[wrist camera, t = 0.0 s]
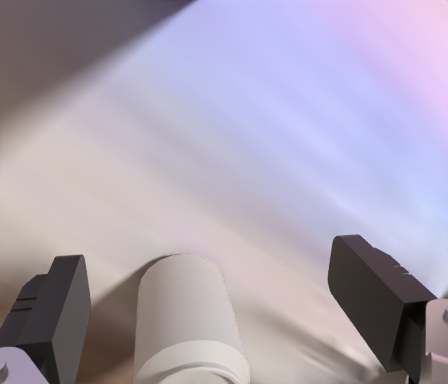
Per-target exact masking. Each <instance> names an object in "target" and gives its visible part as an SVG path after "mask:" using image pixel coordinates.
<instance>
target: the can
mask: <svg viewBox="0 0 448 384" xmlns="http://www.w3.org/2000/svg"><path fill="white" fill-rule="evenodd" d="M249 382H250V368H249V364H248V361H247V357H246V354H245V350H244V347H243V343H242V340H241V336H240V333H239V329H238V326H237V322H236V319H235V315H234V312H233V308H232V305H231V301H230V298H229V294H228V291H227V287H226V284H225V280H224V278H223V275H222V273H221V270H220V269H219V268H218V267H217V266H216V265H215V264H214V263H213V262H212V261H210V260H208V259H206V258H204V257H202V256H199V255H193V254H178V255H172V256H169V257H166V258H164V259H161V260H159V261H158V262H156V263H155V264H154V265H152V266H151V267H150V268H148V270H147V271H146V273H145V274H144V275H143V277H142V278H141V281H140V285H139V289H138V302H137V320H136V339H135V358H134V376H133V384H249Z"/></svg>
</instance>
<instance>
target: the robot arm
mask: <svg viewBox="0 0 448 384" xmlns="http://www.w3.org/2000/svg"><path fill="white" fill-rule="evenodd" d="M328 285H329V289H330V292H331V294H332V295H333V297H334V298H335V299H336V301H337V302H338V304H339V305H340V307H341V308H342V309H343V311H344V312H345V314H346V315H347V316H348V318H349V319H350V321H351V322H352V323H353V325H354V326H355V328H356V329H357V330H358V332H359V333H360V335H361V336H362V338H363V339H364V340H365V342H366V343H367V345H368V346H369V347H370V349H371V350H372V352H373V353H374V354H375V356H376V357H377V359H378V360H379V361H380V363H381V364H382V366H383V367H384V368H385V370H386V371H387V373H388V372H395V371H402V370H405V371H406V373H407V374H408V376H407V380H406V384H448V299H438V298H437V297H436V296H435V295H433V294H432V293H431V292H430V291H429V290H428V289H427V288H426V287H425V286H423V285H422V284H421V283H420V282H419V281H418V280H417V279H416V278H415V277H413V276H412V275H409V272H408V271H407V270H406V269H405V268H403V267H401V266H400V264H399V263H398V262H397V261H396V260H395V259H393V258H392V257H391V256H390V255H388V254H386V253H384V252H382V251H381V250H379V249H377V248H373V247H372V246H371V245H370V244H369V243H368V242H367V241H366V240H365V239H364V238H362V237H361V236H360V235H344V236H336V237H335V238H334V240H333V243H332V250H331V257H330V264H329V271H328ZM90 312H91V300H90V292H89V285H88V278H87V271H86V264H85V258H84V256H83V255H69V256H57V257H55V259H54V261H53V263H52V266H51V268H50V270H49V272H48V274H41V275H36V276H35V277H34V278H32V279H31V280H30V281H29V282H28V283H26V284H25V285H24V286H23V287H22V289H21V291H20V293H19V295H18V297H17V299H16V302H14V304H13V306H12V308H11V312H10V313H9V314H8V316H7V317H6V319H5V321H4V323H3V325H2V327H1V329H0V384H75V381H76V376H77V372H78V368H79V363H80V359H81V355H82V350H83V346H84V342H85V337H86V333H87V328H88V324H89V320H90Z"/></svg>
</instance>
